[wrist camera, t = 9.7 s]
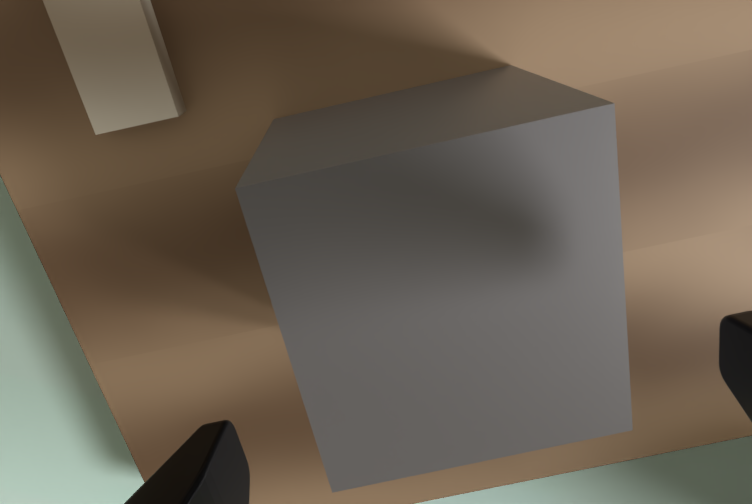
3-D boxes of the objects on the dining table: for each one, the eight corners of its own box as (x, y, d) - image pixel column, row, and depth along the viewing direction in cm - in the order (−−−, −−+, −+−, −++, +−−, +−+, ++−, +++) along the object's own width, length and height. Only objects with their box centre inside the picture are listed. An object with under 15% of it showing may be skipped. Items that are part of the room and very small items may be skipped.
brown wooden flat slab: (714, 378, 22) (784, 449, 19) (196, 485, 23) (170, 571, 20) (727, -289, 15) (848, -379, 11) (-55, -105, 15) (-172, -137, 12)
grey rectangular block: (514, 258, 20) (633, 430, 12) (335, 297, 20) (332, 492, 12) (488, 56, 17) (614, 103, 9) (282, 103, 17) (235, 188, 9)
